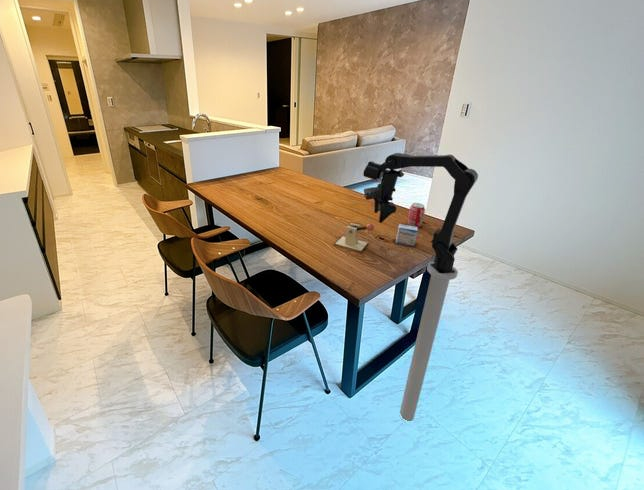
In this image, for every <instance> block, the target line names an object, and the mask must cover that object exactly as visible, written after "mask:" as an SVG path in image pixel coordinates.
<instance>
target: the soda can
mask: <svg viewBox="0 0 644 490" xmlns="http://www.w3.org/2000/svg"><path fill="white" fill-rule="evenodd" d="M408 210H409V211H408V215H407V220H406V225H408V226H414V227H418V228H420V227H422V224H423V221H424V217H425V212H426V209H425V205H424V204H423V203H419V202H413V203H412V204H411V205H410V207H409V209H408Z"/></svg>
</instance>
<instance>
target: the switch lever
mask: <svg viewBox="0 0 644 490" xmlns="http://www.w3.org/2000/svg"><path fill="white" fill-rule="evenodd" d="M351 227H354V228H356V226H351ZM374 229H375V225H374V224H373V223H368V224H366V226H365V225H364V226H360V227H358V228H357V230H359V231H363V230H367V231H369V232H372V231H374Z"/></svg>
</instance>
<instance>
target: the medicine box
mask: <svg viewBox="0 0 644 490" xmlns="http://www.w3.org/2000/svg"><path fill="white" fill-rule="evenodd" d="M418 231H419V227H414V226H410V225H408V224H401V223H399V224H398V228H397V233H396V238H395V243H396V244H401V245H406V246H411V247H415V246H416V242H417V241H416V240H417V236H418V233H419V232H418Z"/></svg>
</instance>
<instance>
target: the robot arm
mask: <svg viewBox="0 0 644 490" xmlns="http://www.w3.org/2000/svg"><path fill="white" fill-rule="evenodd" d="M411 167H414V168H417V167H419V168H420V167H421V168H422V167H423V168H424V167H425V168H428V167H429V168H430V167H431V168H444V169H445V170H446V172H447V173H448V175H449V176H450V177H451V178H452V179H454V184H453V185H454V186H453V196H452V198H451V201H450V204H449V207H448V210H447V213H446V215H445V218H444V221H443V224H442V226H441V228H437V229H436V230H435V231H434V232H433V237H432V240H431V241H430V243H431V248H432V249H433V250H434V252H435V257H434V261H433V262H434V263H431V264H430V265H431V266H432V267H433V268H434V269H435V270H436V271H437V272H439V273H455V270H453V269H452V268H453V267H454V263H455V260H456V258H455V255H456V253H457V252H458V247H457V246H456V245H455V243H454V235H455V228H456V225H457V222H458V220H459V217H460V214H461V211H462V210H463V207H464V204H465V201H466V199H467V196H468V195H469V193H470V192H471V190H472V188H473V187H474V185H475V183H477V181H478V179H479V173H478V172H477V171H476V170H475V169H473V168H469V167H468V166H467V165H466V164H465V163H463V162H461V161H460V160H459V159H458V158H456V157H455V156H454V155H453V154H444V155H443V154H441V155H440V154H439V155H438V154H437V155H436V154H435V155H410V154H407V153H401V152H394V153H392V154H390V155H388V156H386V158H385V160H384V161H383V163H381V164H380V163H377V162H375V161H371V160H370V161H368V163H367V165H366V166H365V168H364V170H363V174H362V176H363V177H365V178H366V179H367V178H368V179H371V180H373V181H375V182H377V181H378V180H380V182H379V183H378V184H377V186H372V187H367V188H364V189H363V195H364V198H365V200H367V201H369V200H373V201H374V205H373V206H374V208H373V209H374V214H377V213H378V212H379V217H378V223H379V224H382V223H383V222H384V221H385V220H386V219H387V218H388V217H389V216H391V215H392V214H395V213H396V212H397V209H398V208H397V206H396V205H395V203H394V202H393V199H394V198H393V194H394V192H396V191H397V190H396V185H397V181H398V178H403V177H404V176H405V173H404V172H403V170H402V169H404V168H411Z"/></svg>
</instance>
